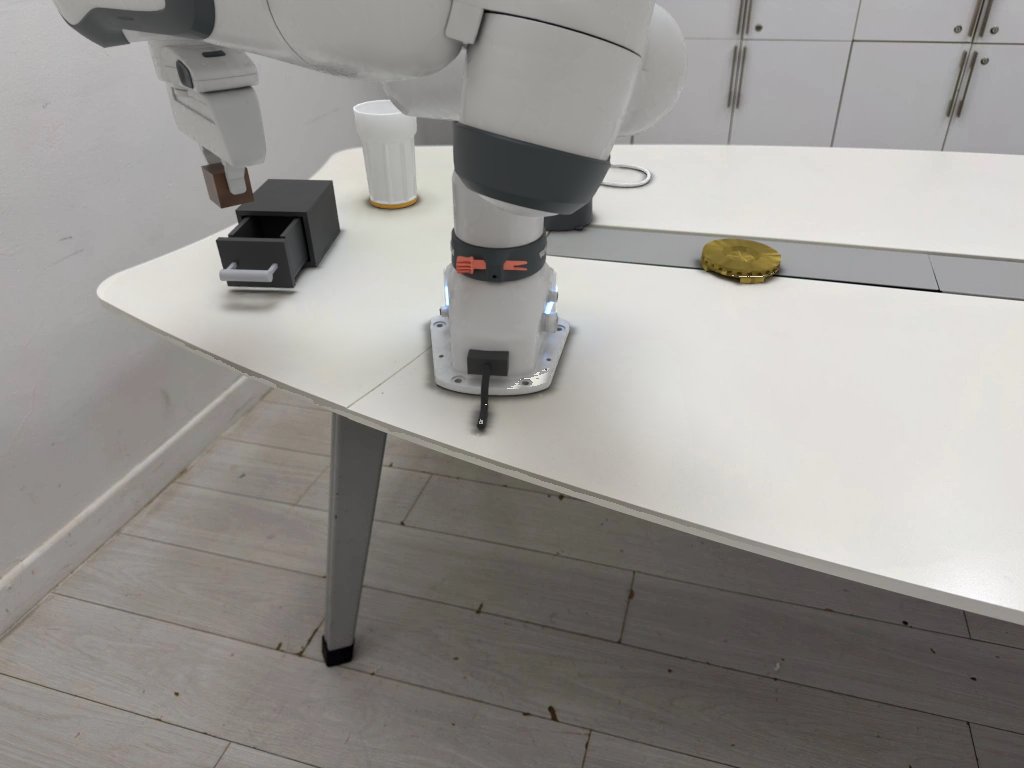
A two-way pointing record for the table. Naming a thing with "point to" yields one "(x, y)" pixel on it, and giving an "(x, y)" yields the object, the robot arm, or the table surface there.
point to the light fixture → (570, 219)
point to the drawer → (263, 252)
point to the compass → (740, 259)
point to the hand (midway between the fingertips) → (229, 186)
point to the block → (224, 187)
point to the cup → (388, 153)
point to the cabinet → (299, 210)
